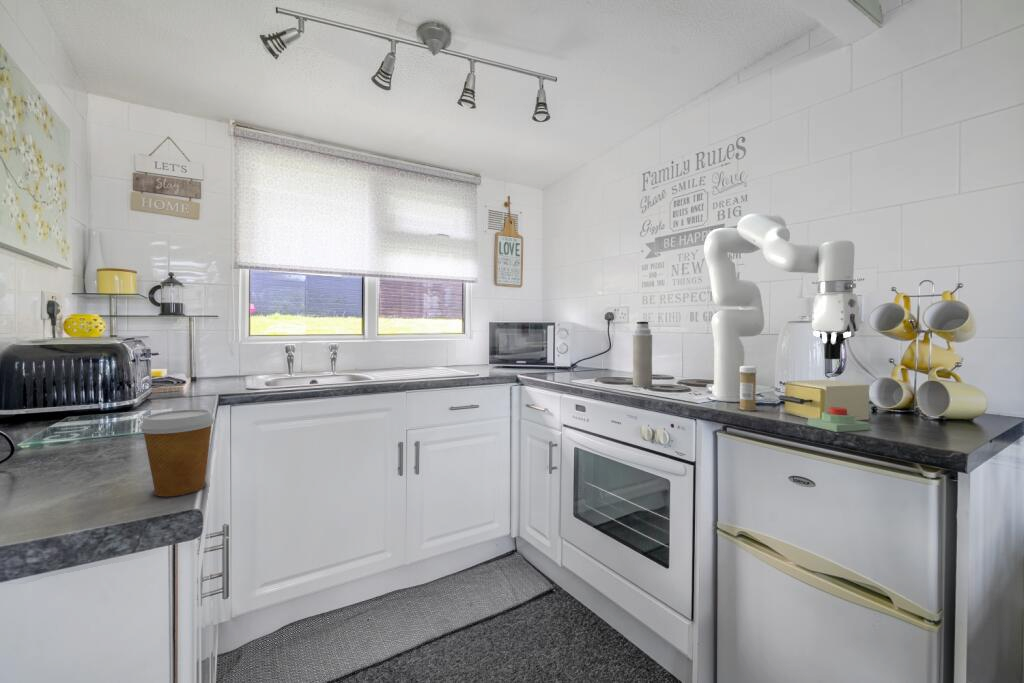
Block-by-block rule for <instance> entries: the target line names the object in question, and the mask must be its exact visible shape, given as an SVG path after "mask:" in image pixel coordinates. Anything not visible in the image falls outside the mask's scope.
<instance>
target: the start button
mask: <svg viewBox="0 0 1024 683" xmlns="http://www.w3.org/2000/svg"><path fill="white" fill-rule="evenodd" d="M829 414H833V415H847V409H845V408H839V407H830V408H829Z"/></svg>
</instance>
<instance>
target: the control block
mask: <svg viewBox="0 0 1024 683" xmlns="http://www.w3.org/2000/svg"><path fill="white" fill-rule="evenodd" d="M807 426H809V427H810V426H811V427H814V428H817V429H818V428H819V429H823V430H827V431H832V432H834V433H842V432H856V431H869V430H870V422H866V421H863V420H855V415H853V414H850V413H847V415H833V414H829V411H826V412H822V418H812V419H810V418H807Z"/></svg>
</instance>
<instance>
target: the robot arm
mask: <svg viewBox="0 0 1024 683" xmlns="http://www.w3.org/2000/svg"><path fill="white" fill-rule="evenodd" d="M790 238H791V234H790V230H789V228H787V223H786V221H785V219H784V218H783V217H781V215H777V214H774V213H773V214H772V213H749V214H746V215H744V216H743V217H741V219H740V220H738V222H737V225H736V227H719V228H715V229H712V230H711V231H710V232H708V234H707V235H706V238H705V240H704V243H703V255H704V259H705V263H706V266H707V268H708V275H709V281H710V288H711V289H710V290H711V295H712V300H713V302H714V304H715V305H716V306H719V307H729V309H721V310H718V311H716V312H715V313H714V314H713V315H712V318H711V321H710V324H711V332H712V338H713V384H712V386H709V387H708V390H709V391H710V392H711V394H714V395H715V396H716V397H710V396H709V395H708V399H710V400H712V401H716V402H717V401H718V402H724V403H725V402H727V403H740V366H745V348H744V344H743V342H742V341H741V337H742V338H743V337H744V338H745V337H748V338H749V337H756V336H759V335H760V334H761V333H762V332H763V330H764V329H765V328H764V327H765V314H764V309H763V302H762V294H761V291H760V288H759V286H758V284H756V283H755V282H754V281H752V280H749V279H739V278H738V277H737V276H738V275H737V270H736V266H735V264H734V262H733V260H732V259H731V258H730V257H729V256H728V254H729V253H730V254H751V253H755V252H757V251H759V250H762V254H763V256H764V259H765V260H766V261H767V262H768V263H769V264H771V265H773V266H774V267H775V268H778V269H779V270H781V271H783V272H788V273H805V274H806V273H808V274H817V289H816V290H817V292H816V293H817V294H815V297H814V300H813V306H812V312H811V313H812V314H811V329H812V330H813V335H814V336H815V337H818V338H820V339H821V341H822V344H824V359H825V360H840V359H841V349H842V348H841V345H843V344H844V342H845V341H846V339H850V338H853V337H855V336H856V334H855V333H856V332H858V331H859V329H860V308H859V301H858V296H857V293H854V289H856V288H857V283H855V282H854V273H855V272H854V270H855V268H854V267H855V244H854V242H853V241H851V240H846V239H845V240H844V239H841V240H839V239H838V240H831V241H826V242H823V243H821V245H815V244H795V243H793V242H790ZM727 253H728V254H727ZM730 307H731V309H730ZM732 307H733V309H732ZM734 307H736V308H737V309H734Z"/></svg>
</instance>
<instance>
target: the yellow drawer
mask: <svg viewBox="0 0 1024 683" xmlns="http://www.w3.org/2000/svg"><path fill="white" fill-rule="evenodd" d="M784 388H785V389H784V395H783V394H780V395H779V396H778V399H779V401H782V402H784V412H786V413H787V412H792V413H796V414H801V415H806V416H810V417H815V418H822V412H824V389H820V388H813V387H806V386H799V385H789V384H787V383H786V384H784Z"/></svg>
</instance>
